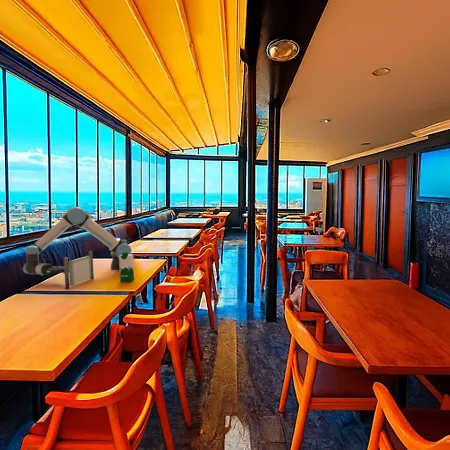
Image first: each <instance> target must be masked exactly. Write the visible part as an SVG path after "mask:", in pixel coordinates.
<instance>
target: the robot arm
mask: <svg viewBox="0 0 450 450" xmlns="http://www.w3.org/2000/svg"><path fill="white" fill-rule="evenodd" d="M91 217H92V216H91V215H90V214H89V213H88V212H86V211H85V210H84V209H83V208H81V207H79V206H73V207H71V208H69V209H68V210H67V212H66V213H65V214H64V215H63V216H62V217H61V219H60V220H59V221H58V222H57V223H56V224H55V225H54V226H53V227H51V228H50V229H49V230H48V231H47V232H46V233H45V234H44V235H42V236H41V237H40V238H39V239H37V241H35V242H34V243H33V244H32V245H30V246H29V245H28V246H26V247H25V259H26V263H25V264H24V265H23V267H22V271H23V272H24V273H25V274H28V275H40V276H50V275H51V274H64V275H65V272H64V266H62V265H59V266H55V265H53V264H52V263H40V260H39V258H40V256H39V255H40V254H42V252H43V251H44V250H45V249H47V248H48V246H50V245H51V244H52V243H53V242H54V241H55V240H56V239H58V238H59V237H60V236H61V235H62V234H63V233H64V232H65V231H66V230H67V229H68V228H70V227H73V226H76V227H77V228H79V229H83V230H85V231H86V232H88V233H89V234H91V235H92V236H93V237H95V238H96V239H97V240H99V241H100V242H101V243H102V244H104V245H105V246H107V247H108V248H109V251H110V252H112V255H111V256H112V260H111V263H110V269H111V270H115V271H117V270H118V271H120V266H119V256H120V255H122V253H123V252H128V254H132V247H131V245H130V244H129V243H128V242H127V239H121V238H117V237H115V236H114V235H113V234H111V233H110V232H109V231H107V230H106V229H105V228H103V226H101V225H100V224H99V223H97V222H96V221H94V220H93V219H92V218H91Z"/></svg>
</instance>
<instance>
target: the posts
mask: <svg viewBox="0 0 450 450" xmlns="http://www.w3.org/2000/svg"><path fill="white" fill-rule="evenodd" d="M88 256H90V259H91V279H90V280H94V279H95V278H94V277H95V276H94V273H95V272H94V260H93V259H94V258H93V257H94V255H93V250H88ZM63 267H64V272H65V274H64V283H65V284H64V287H65V290H69V289H70V277H69V257H63Z"/></svg>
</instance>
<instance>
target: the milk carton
mask: <svg viewBox="0 0 450 450" xmlns="http://www.w3.org/2000/svg"><path fill="white" fill-rule="evenodd" d="M119 266H120V270H119V280H120V281H119V282H120V283H131V282H132V281H134V280H135V271H134V270H135V267H134V254H132V253H131V254H128V252H123V253H122V255H120V256H119Z"/></svg>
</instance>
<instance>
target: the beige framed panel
mask: <svg viewBox="0 0 450 450" xmlns="http://www.w3.org/2000/svg"><path fill="white" fill-rule="evenodd" d="M68 268H69V285H70V286H71V287H73V286H75V285H78V284H80V283H83V282H85V281H88V280H92V279H91V259H90V256H89V255H85V256H82V257H79V258H75V259H72V260H68Z"/></svg>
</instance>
